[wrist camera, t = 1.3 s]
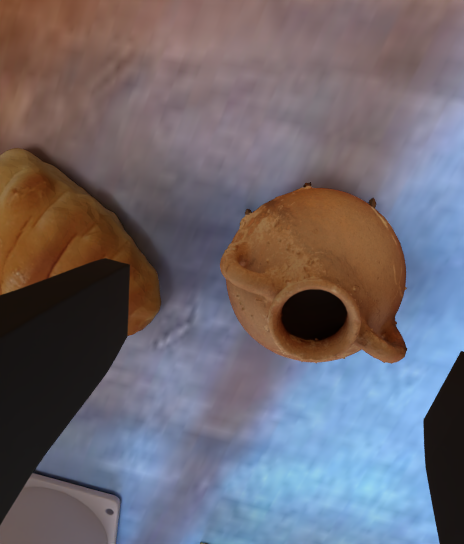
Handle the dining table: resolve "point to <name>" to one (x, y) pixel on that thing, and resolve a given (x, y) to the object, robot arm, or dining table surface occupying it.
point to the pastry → (63, 233)
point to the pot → (318, 277)
